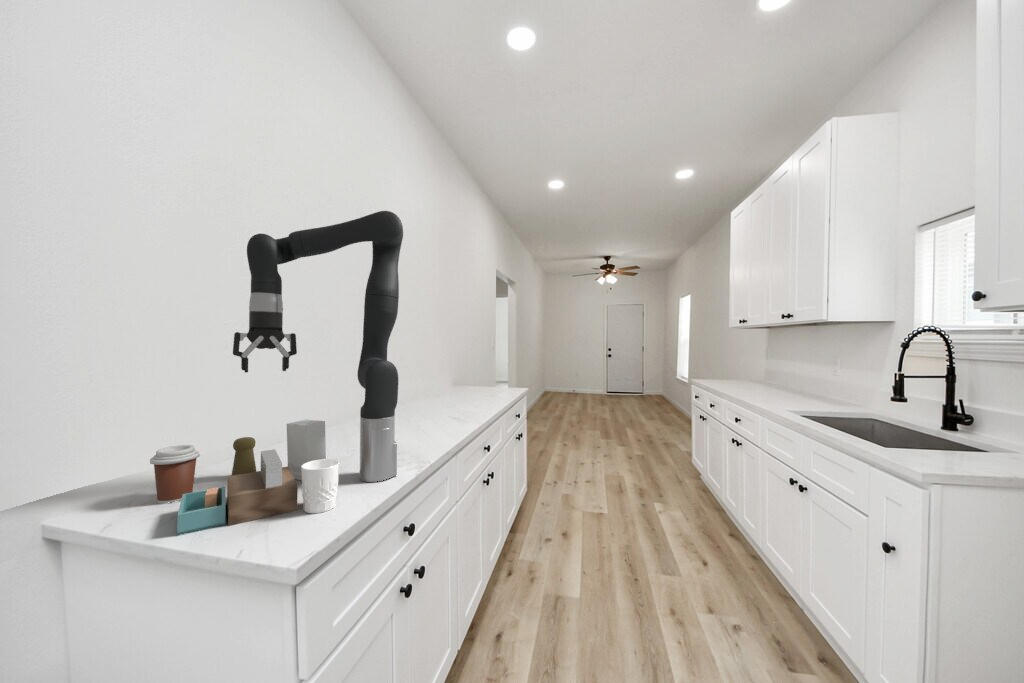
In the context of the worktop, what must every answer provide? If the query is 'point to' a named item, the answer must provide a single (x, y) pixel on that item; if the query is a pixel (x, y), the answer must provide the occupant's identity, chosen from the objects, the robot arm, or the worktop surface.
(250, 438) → the olive pepper mill
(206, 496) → the terracotta tile
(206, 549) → the worktop surface
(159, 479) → the coffee cup
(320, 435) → the skincare box
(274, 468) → the steel bar
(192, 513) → the teal box
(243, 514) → the brown wooden box
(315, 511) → the white cup
